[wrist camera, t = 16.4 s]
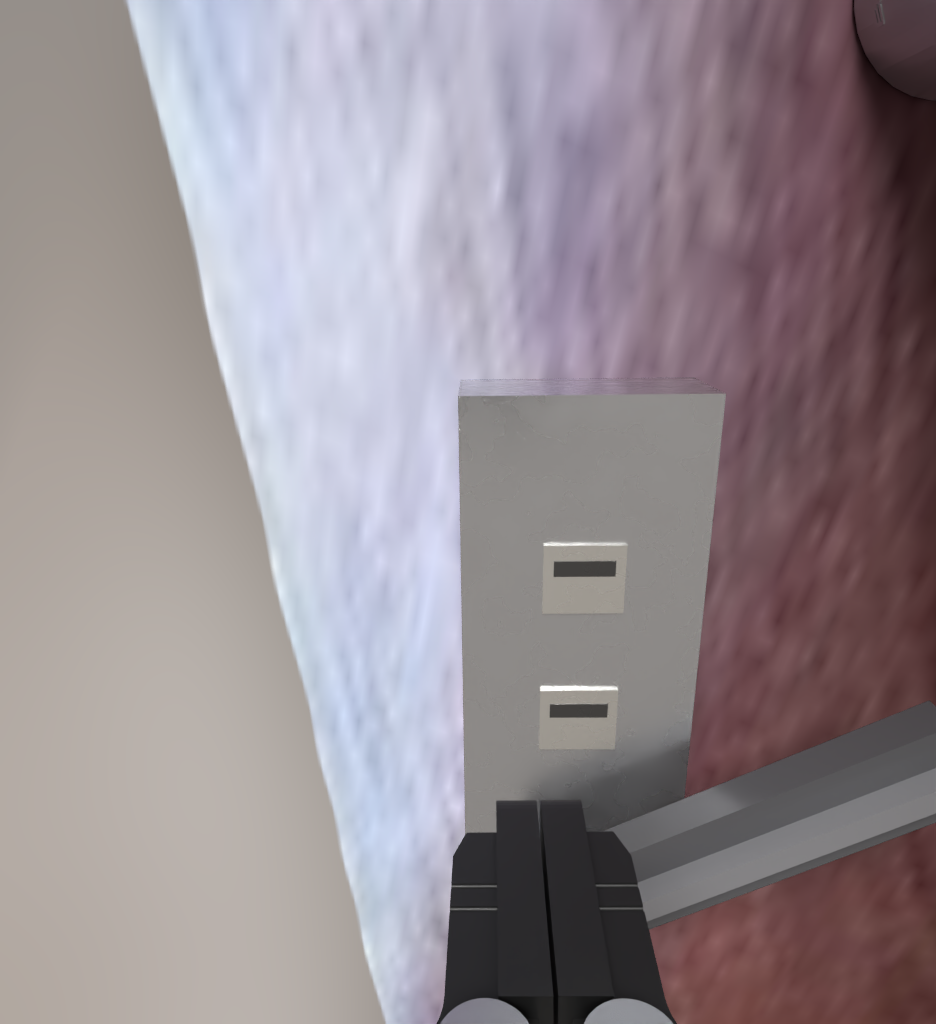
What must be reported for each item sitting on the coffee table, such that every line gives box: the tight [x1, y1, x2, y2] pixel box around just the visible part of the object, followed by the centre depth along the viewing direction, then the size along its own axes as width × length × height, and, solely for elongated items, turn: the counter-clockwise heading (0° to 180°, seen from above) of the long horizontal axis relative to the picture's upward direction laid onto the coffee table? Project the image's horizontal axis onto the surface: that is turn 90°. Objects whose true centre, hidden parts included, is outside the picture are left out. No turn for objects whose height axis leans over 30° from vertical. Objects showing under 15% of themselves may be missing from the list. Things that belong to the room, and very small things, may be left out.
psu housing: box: [458, 378, 726, 835], centre depth 38 cm, size 12×28×7 cm, turn 1°
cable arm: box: [605, 701, 936, 929], centre depth 36 cm, size 5×22×3 cm, turn 118°
